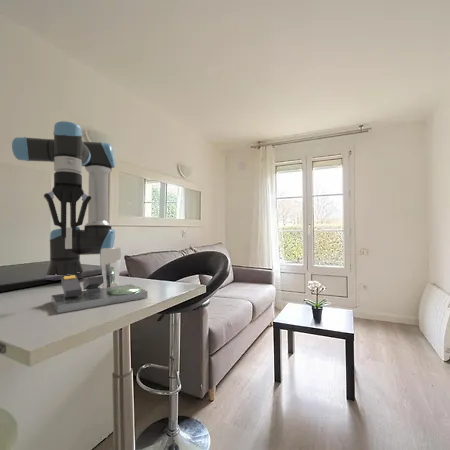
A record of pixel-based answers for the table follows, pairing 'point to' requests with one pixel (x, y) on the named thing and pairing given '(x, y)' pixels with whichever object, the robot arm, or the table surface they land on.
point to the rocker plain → (93, 282)
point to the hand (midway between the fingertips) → (68, 248)
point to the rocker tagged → (71, 286)
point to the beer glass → (110, 266)
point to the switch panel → (97, 297)
